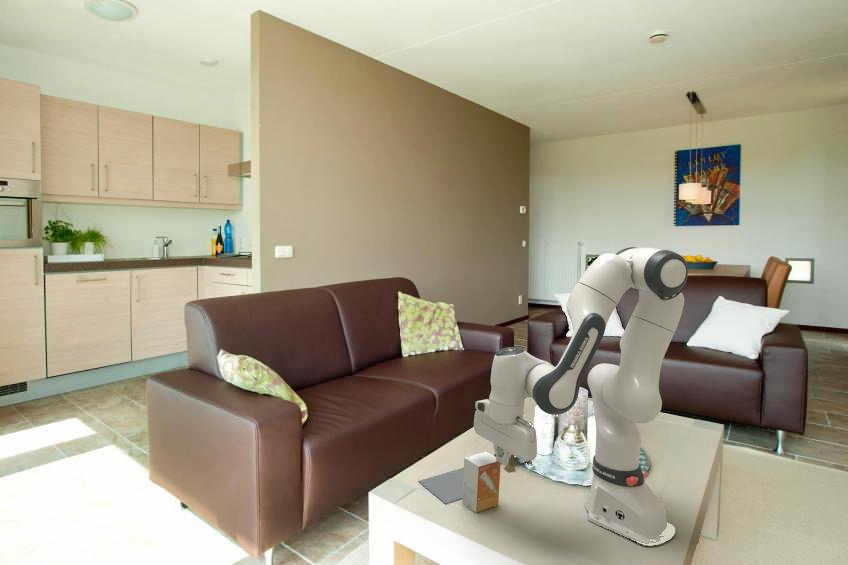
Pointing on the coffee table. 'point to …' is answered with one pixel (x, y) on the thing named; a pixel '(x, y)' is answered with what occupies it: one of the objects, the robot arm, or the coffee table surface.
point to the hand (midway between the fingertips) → (502, 463)
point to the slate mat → (446, 486)
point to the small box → (481, 481)
